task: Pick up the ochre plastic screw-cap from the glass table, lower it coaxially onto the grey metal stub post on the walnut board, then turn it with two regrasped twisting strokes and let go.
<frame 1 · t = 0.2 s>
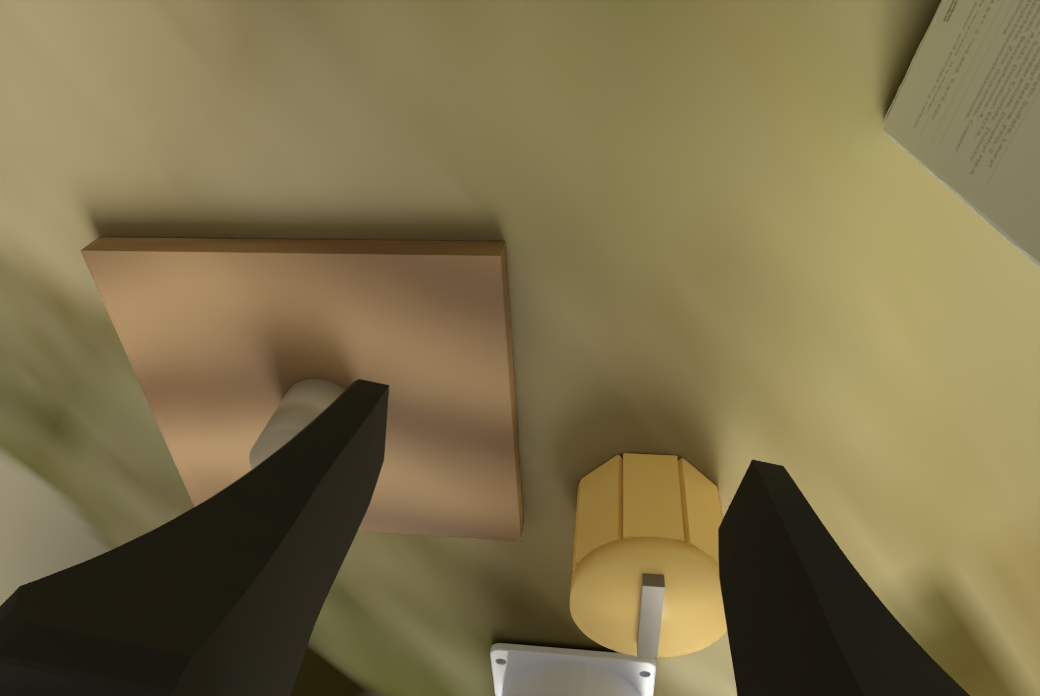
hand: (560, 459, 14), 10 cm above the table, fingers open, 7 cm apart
post board: (333, 394, 27), on the table
cap: (646, 504, 28), on the table
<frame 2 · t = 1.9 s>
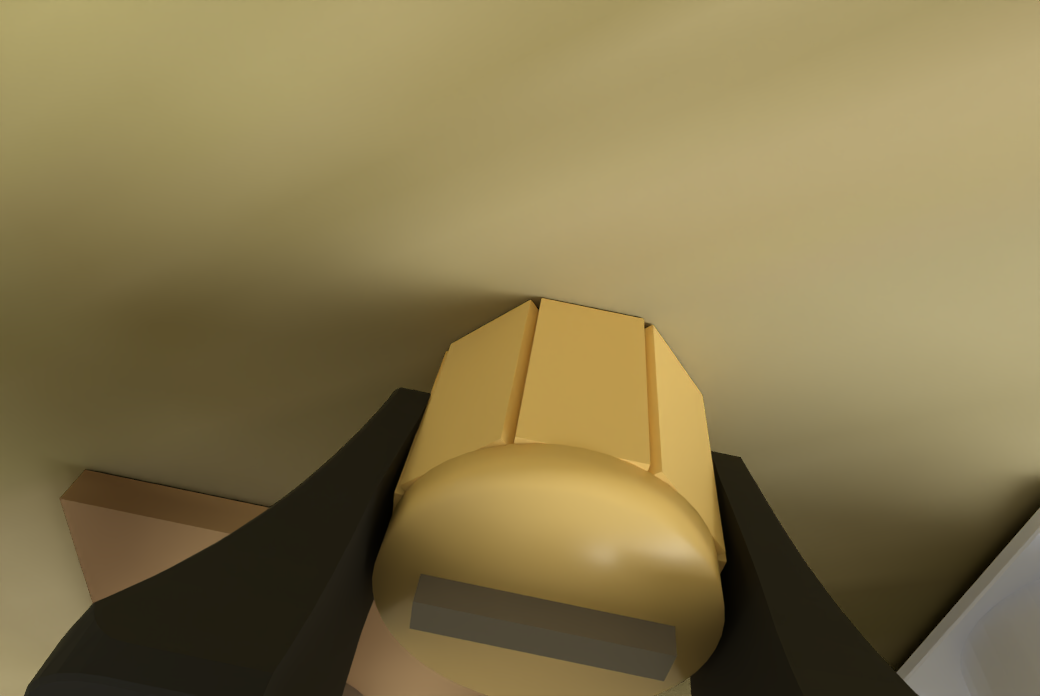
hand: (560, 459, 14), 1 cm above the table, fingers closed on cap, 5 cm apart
post board: (332, 669, 22), on the table
cap: (565, 413, 15), on the table, touching gripper
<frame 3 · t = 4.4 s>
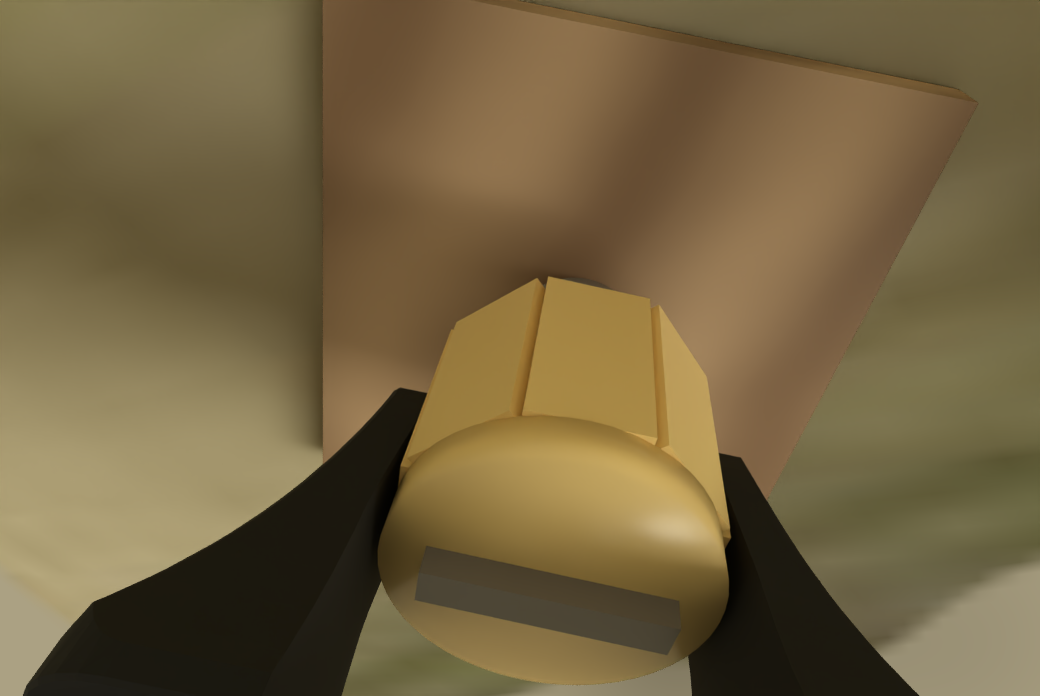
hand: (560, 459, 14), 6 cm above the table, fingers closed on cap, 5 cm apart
post board: (577, 309, 19), on the table
cap: (568, 394, 15), point 4 cm above the table, touching gripper
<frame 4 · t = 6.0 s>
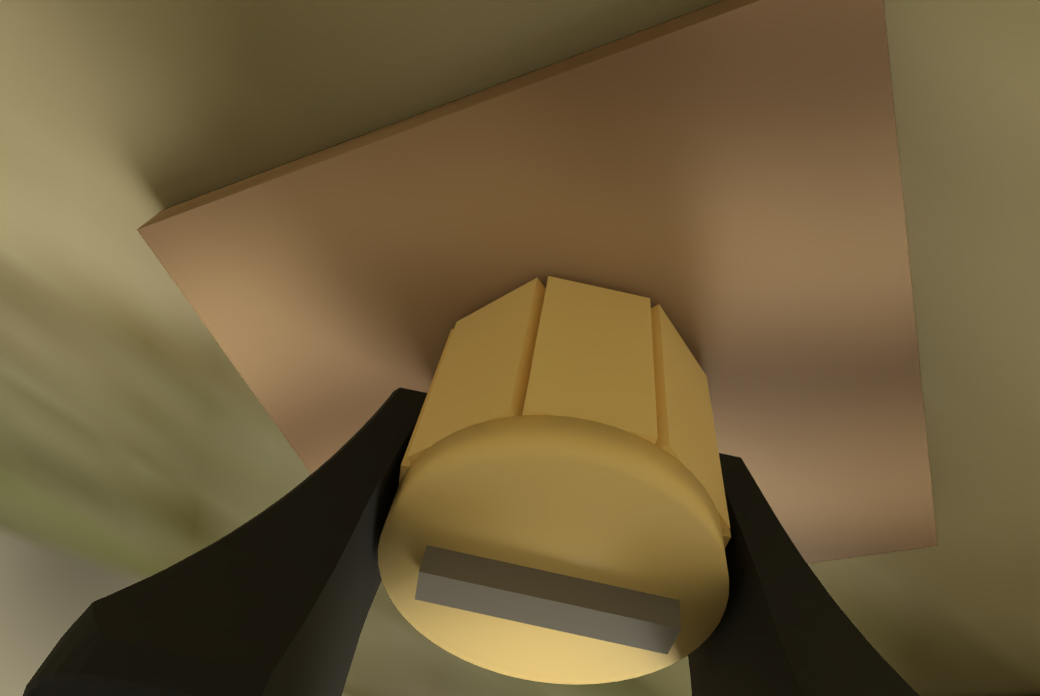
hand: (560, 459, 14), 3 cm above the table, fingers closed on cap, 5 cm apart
post board: (569, 372, 16), on the table
cap: (569, 393, 15), point 1 cm above the table, touching gripper
when the fingers open (3 cm above the table, at t = 6.7 s): cap stays where it is, point 1 cm above the table.
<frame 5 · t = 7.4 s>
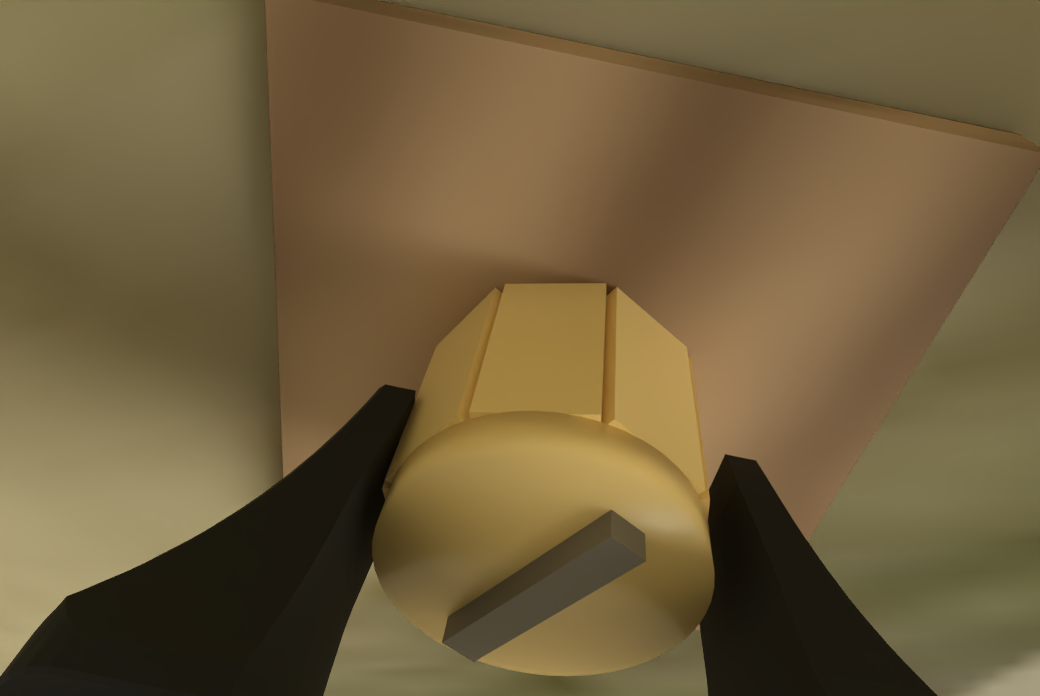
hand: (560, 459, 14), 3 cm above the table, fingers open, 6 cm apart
post board: (570, 372, 16), on the table
cap: (560, 392, 15), point 1 cm above the table, touching gripper
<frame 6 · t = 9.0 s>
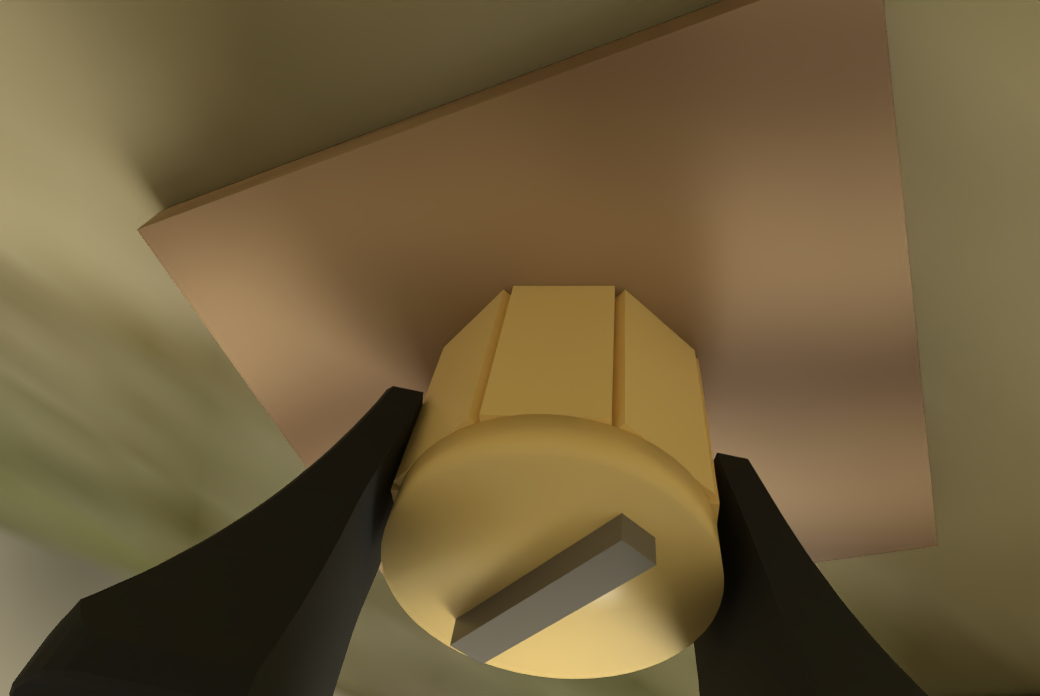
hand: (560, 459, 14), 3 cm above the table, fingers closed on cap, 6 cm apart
post board: (569, 372, 16), on the table
cap: (567, 394, 15), point 1 cm above the table, touching gripper
when the fingers open (3 cm above the table, at t = 9.9 s): cap stays where it is, resting on post board.
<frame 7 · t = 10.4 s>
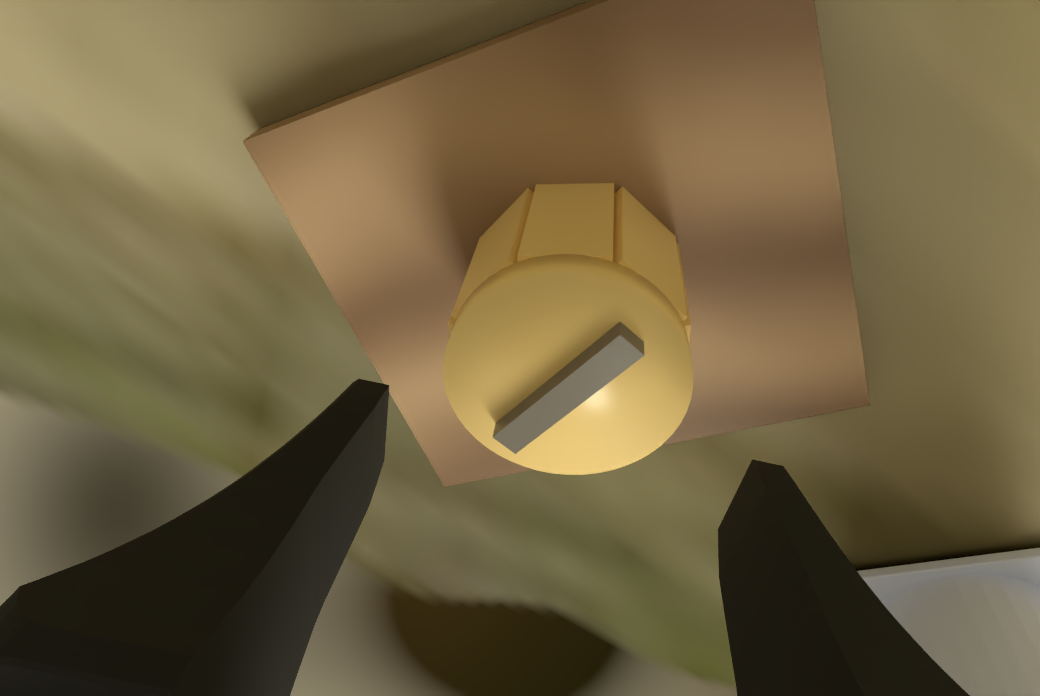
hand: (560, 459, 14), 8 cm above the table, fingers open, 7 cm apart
post board: (577, 264, 20), on the table
cap: (576, 276, 20), point 1 cm above the table, touching post board
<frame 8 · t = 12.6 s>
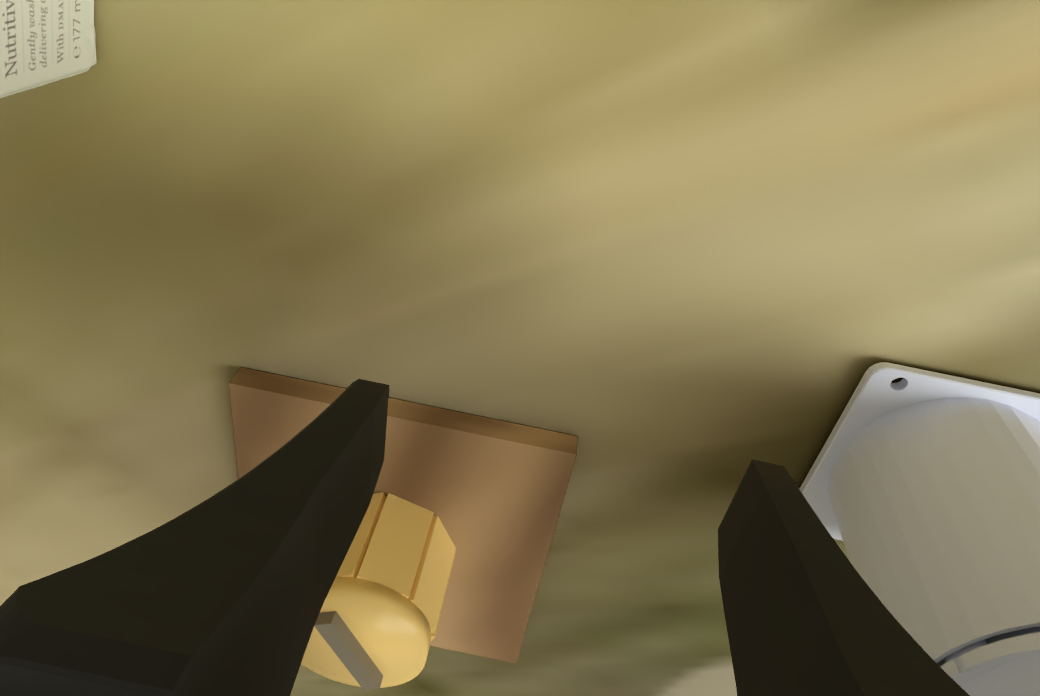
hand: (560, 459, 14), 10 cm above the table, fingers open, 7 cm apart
post board: (397, 523, 31), on the table
cap: (388, 540, 30), point 1 cm above the table, touching post board
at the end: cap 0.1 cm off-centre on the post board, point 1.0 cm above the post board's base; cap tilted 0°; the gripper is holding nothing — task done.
